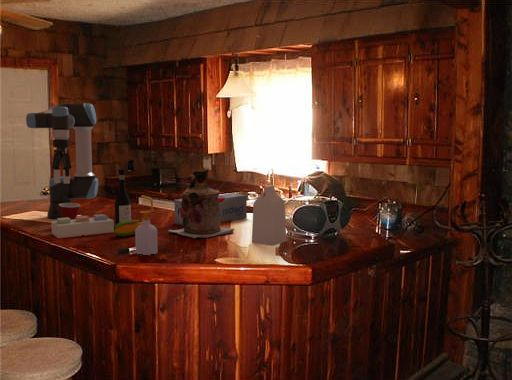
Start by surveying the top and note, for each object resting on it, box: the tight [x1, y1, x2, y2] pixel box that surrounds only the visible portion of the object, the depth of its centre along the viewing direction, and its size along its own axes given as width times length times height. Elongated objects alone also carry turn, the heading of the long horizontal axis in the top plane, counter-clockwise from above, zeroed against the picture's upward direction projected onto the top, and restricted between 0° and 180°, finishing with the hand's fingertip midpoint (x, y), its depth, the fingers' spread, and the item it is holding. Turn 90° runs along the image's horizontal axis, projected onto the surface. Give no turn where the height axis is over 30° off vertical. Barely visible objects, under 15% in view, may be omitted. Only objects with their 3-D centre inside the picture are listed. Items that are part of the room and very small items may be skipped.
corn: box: [113, 219, 142, 238], centre depth 276 cm, size 7×8×20 cm
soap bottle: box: [134, 194, 159, 256], centre depth 237 cm, size 9×9×25 cm
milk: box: [251, 184, 287, 247], centre depth 259 cm, size 12×12×26 cm
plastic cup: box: [59, 202, 81, 220], centre depth 296 cm, size 11×11×12 cm
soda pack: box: [173, 192, 248, 226], centre depth 313 cm, size 41×13×14 cm, turn 128°
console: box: [50, 217, 115, 239], centre depth 280 cm, size 13×27×6 cm, turn 122°
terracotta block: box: [76, 215, 90, 222], centre depth 280 cm, size 5×5×5 cm
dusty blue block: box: [93, 213, 108, 221], centre depth 285 cm, size 5×5×5 cm
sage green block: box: [56, 217, 71, 224], centre depth 275 cm, size 5×5×5 cm
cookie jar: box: [168, 168, 235, 240], centre depth 279 cm, size 25×25×32 cm
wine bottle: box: [114, 168, 132, 225], centre depth 297 cm, size 8×8×30 cm
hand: (61, 183), depth 273 cm, fingers open, 13 cm apart
